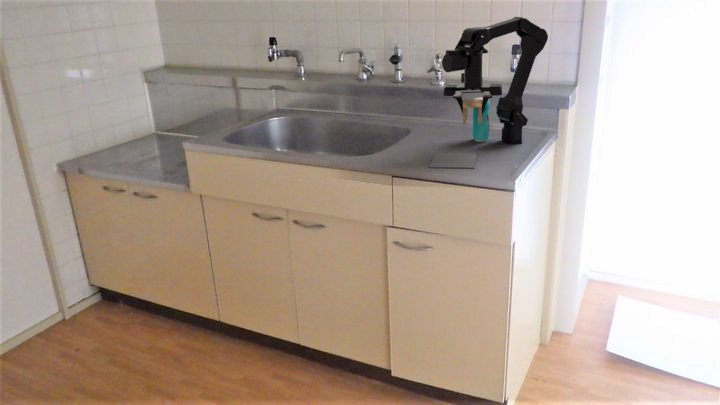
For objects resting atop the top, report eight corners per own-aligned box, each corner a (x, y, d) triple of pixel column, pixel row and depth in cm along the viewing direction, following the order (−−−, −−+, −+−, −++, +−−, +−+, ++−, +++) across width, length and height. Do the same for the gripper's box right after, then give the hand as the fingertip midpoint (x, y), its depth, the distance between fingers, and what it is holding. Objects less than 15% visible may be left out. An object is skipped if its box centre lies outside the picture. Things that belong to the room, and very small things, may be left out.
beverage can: (489, 142, 212) (489, 100, 206) (472, 142, 213) (472, 100, 208) (489, 138, 217) (489, 96, 212) (473, 138, 218) (473, 97, 213)
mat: (477, 155, 199) (477, 154, 199) (474, 168, 186) (474, 167, 186) (435, 154, 203) (435, 153, 202) (429, 167, 190) (429, 166, 190)
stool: (482, 119, 203) (482, 98, 200) (481, 123, 198) (481, 102, 195) (464, 119, 205) (464, 99, 202) (462, 123, 199) (462, 103, 197)
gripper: (503, 63, 200) (501, 109, 205) (446, 65, 204) (447, 110, 210) (502, 69, 190) (501, 117, 195) (443, 70, 194) (443, 117, 200)
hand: (472, 115), depth 200 cm, fingers closed on stool, 5 cm apart
